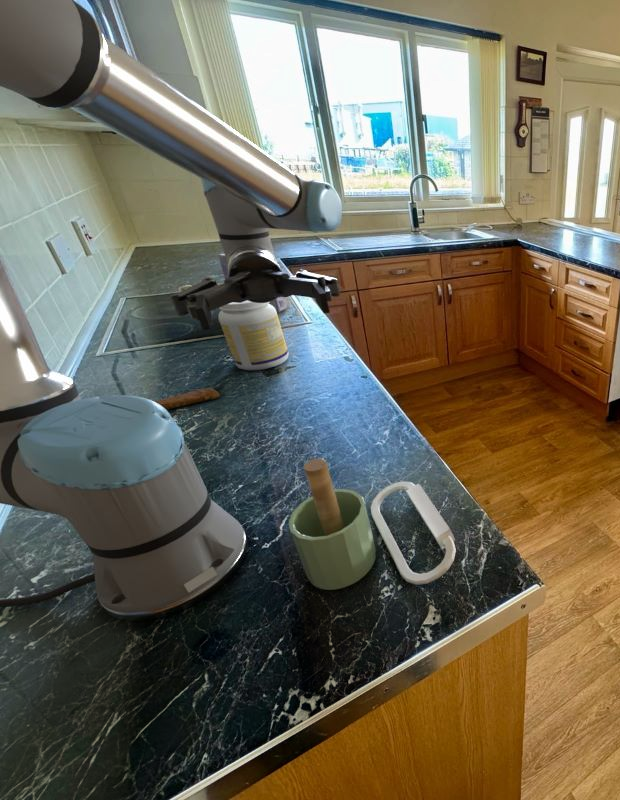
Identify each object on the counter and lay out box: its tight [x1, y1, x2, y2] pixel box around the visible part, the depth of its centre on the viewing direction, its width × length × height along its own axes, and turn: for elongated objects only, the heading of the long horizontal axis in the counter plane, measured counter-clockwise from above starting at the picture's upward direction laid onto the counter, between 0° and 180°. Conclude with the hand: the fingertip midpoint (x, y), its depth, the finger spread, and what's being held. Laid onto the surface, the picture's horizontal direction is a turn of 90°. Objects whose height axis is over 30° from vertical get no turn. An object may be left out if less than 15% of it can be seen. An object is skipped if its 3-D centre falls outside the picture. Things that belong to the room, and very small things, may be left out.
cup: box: [288, 488, 377, 591], centre depth 55 cm, size 9×9×9 cm
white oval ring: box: [370, 481, 457, 586], centre depth 61 cm, size 20×8×4 cm, turn 35°
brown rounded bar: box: [153, 387, 221, 411], centre depth 88 cm, size 19×6×4 cm, turn 143°
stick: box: [303, 457, 344, 536], centre depth 53 cm, size 2×2×16 cm
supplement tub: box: [217, 300, 289, 371], centre depth 106 cm, size 12×12×17 cm
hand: (267, 311), depth 54 cm, fingers open, 13 cm apart
